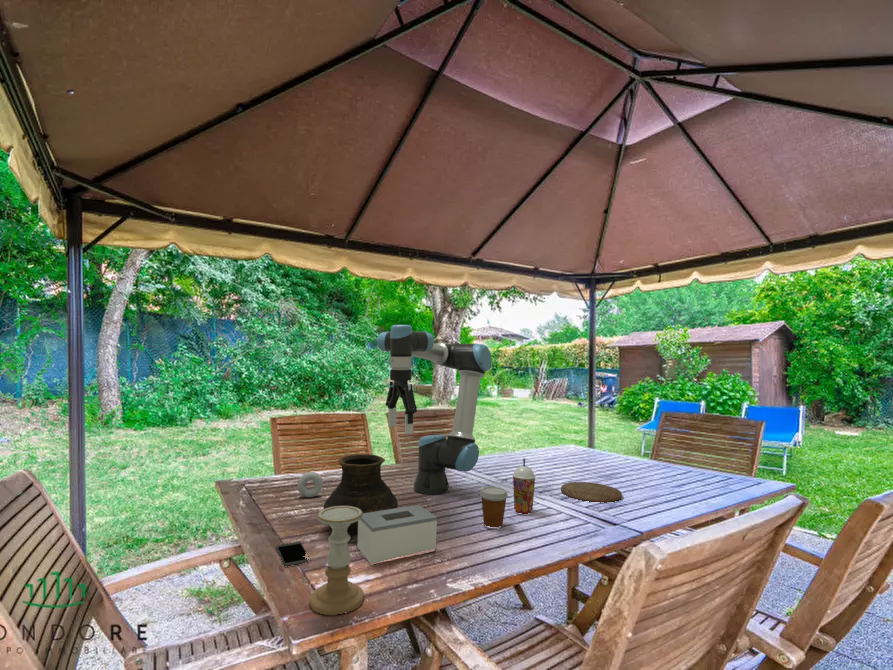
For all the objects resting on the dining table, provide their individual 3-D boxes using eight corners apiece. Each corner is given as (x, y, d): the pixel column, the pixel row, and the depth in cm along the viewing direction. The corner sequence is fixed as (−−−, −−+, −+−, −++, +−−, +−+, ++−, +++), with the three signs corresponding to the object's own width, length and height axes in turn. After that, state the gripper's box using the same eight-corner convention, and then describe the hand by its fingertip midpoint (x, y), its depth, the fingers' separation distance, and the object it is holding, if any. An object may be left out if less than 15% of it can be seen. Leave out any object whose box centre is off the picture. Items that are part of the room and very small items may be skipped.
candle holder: (297, 608, 100) (301, 517, 101) (330, 583, 111) (333, 501, 112) (344, 621, 95) (347, 526, 96) (373, 593, 107) (376, 508, 108)
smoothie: (507, 512, 166) (508, 458, 167) (520, 507, 172) (521, 455, 173) (526, 518, 160) (527, 462, 161) (538, 512, 166) (539, 458, 167)
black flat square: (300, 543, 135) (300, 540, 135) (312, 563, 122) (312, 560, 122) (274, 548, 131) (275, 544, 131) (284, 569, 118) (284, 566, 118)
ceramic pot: (308, 528, 146) (310, 459, 147) (364, 510, 164) (366, 448, 165) (355, 550, 130) (358, 472, 132) (411, 526, 149) (413, 459, 150)
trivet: (615, 508, 175) (615, 503, 175) (553, 496, 188) (553, 491, 188) (626, 492, 196) (626, 488, 196) (570, 483, 209) (570, 478, 209)
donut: (322, 494, 181) (323, 470, 181) (323, 497, 177) (324, 472, 178) (296, 496, 177) (297, 471, 178) (296, 499, 174) (297, 473, 175)
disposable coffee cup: (489, 533, 145) (489, 496, 146) (474, 523, 154) (474, 488, 154) (512, 528, 150) (513, 492, 150) (496, 519, 158) (497, 485, 159)
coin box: (418, 536, 141) (419, 504, 142) (435, 551, 131) (436, 517, 131) (357, 548, 131) (358, 514, 132) (371, 565, 121) (372, 528, 121)
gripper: (377, 367, 164) (376, 425, 163) (406, 371, 143) (406, 437, 142) (395, 367, 168) (395, 423, 167) (427, 370, 147) (426, 435, 146)
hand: (400, 430), depth 155 cm, fingers open, 13 cm apart
